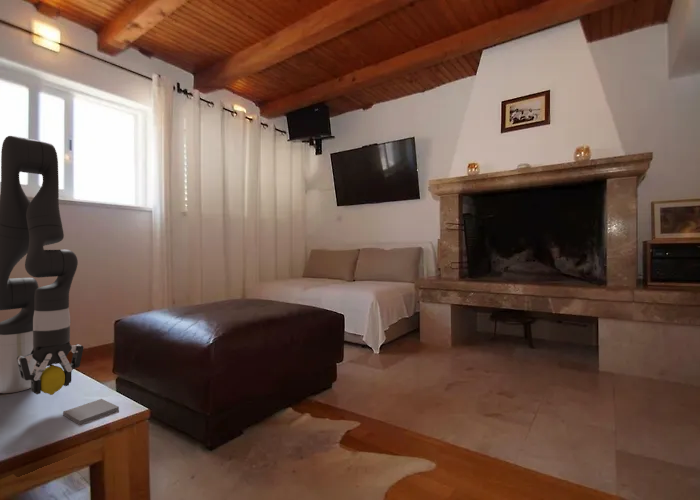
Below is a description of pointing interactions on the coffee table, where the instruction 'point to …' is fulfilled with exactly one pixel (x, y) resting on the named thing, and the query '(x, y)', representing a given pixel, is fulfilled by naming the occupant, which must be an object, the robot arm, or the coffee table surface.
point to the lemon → (52, 379)
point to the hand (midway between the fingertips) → (51, 389)
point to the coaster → (90, 411)
